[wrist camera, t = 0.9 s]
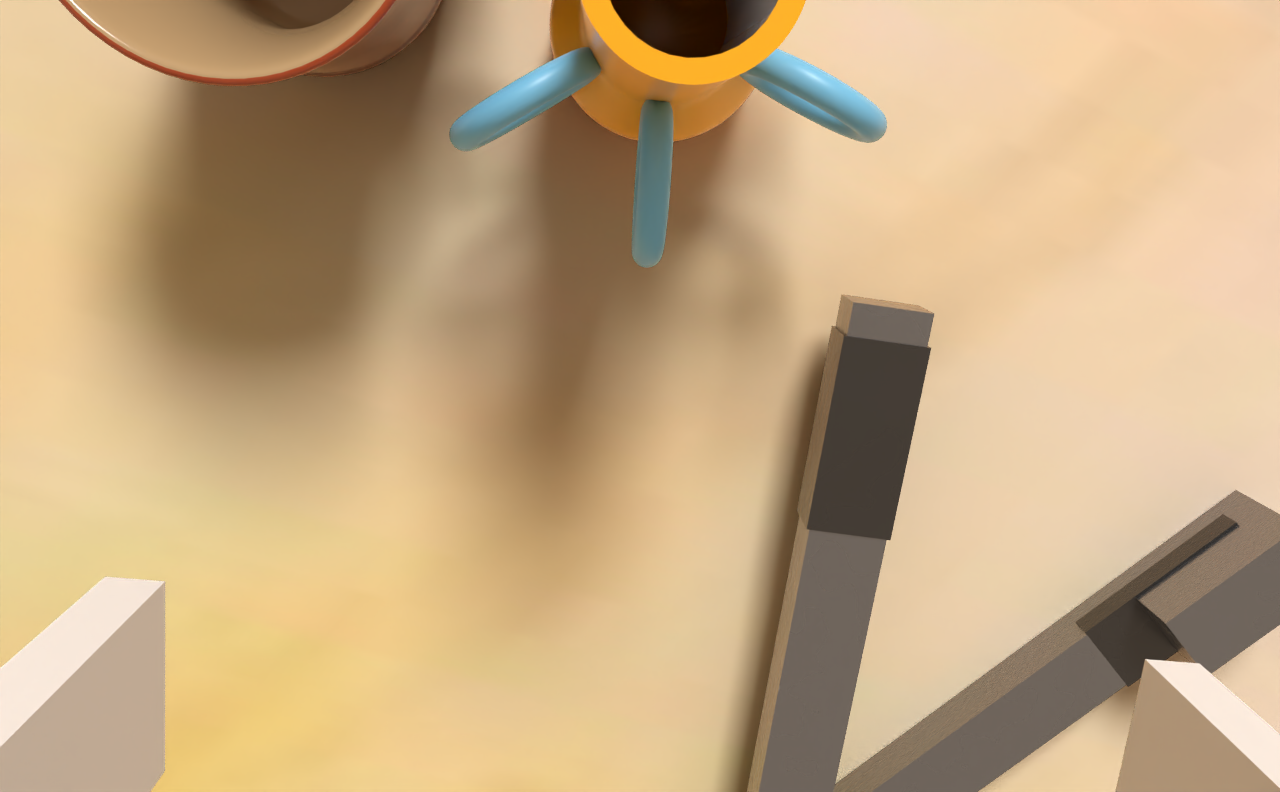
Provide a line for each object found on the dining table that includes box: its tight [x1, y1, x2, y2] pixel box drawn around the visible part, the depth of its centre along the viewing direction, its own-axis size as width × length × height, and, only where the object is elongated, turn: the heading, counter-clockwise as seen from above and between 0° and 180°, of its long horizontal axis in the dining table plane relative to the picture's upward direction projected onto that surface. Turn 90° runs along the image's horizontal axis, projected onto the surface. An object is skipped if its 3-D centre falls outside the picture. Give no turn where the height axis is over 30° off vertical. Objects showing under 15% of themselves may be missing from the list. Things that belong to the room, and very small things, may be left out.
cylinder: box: [449, 0, 887, 268], centre depth 25 cm, size 12×10×15 cm
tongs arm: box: [747, 295, 934, 792], centre depth 34 cm, size 20×3×2 cm, turn 172°
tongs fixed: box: [833, 490, 1280, 792], centre depth 37 cm, size 23×3×4 cm, turn 130°
